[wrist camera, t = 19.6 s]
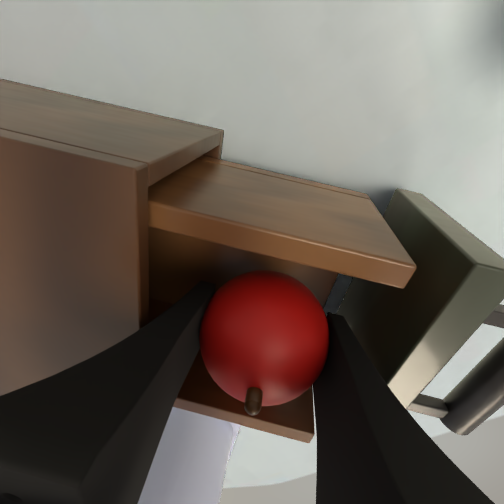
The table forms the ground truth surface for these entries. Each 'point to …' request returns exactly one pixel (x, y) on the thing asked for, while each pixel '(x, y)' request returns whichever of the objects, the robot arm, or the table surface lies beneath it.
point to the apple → (264, 338)
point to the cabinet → (77, 223)
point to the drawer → (333, 281)
